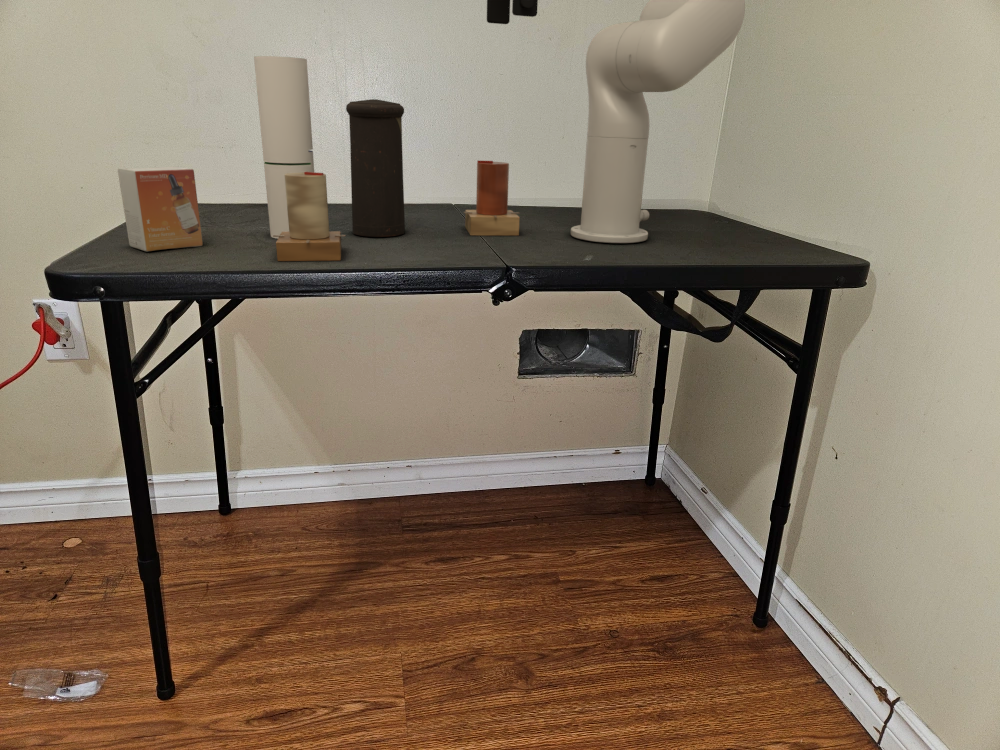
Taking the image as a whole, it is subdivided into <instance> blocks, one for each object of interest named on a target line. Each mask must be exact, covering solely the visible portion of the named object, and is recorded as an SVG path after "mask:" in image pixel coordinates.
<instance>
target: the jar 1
mask: <svg viewBox="0 0 1000 750" xmlns="http://www.w3.org/2000/svg"><path fill="white" fill-rule="evenodd" d="M285 187H286V199H287V211H288V223H289V235H290V237H291V238H295V239H322V238H327V237H329V236H330V234H329V231H330V219H329V206H328V205H329V203H328V188H327V175H326V174H325V173H324V172H315V171H314V172H304V173H287V174H285Z"/></svg>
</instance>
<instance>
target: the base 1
mask: <svg viewBox="0 0 1000 750" xmlns="http://www.w3.org/2000/svg"><path fill="white" fill-rule="evenodd" d="M329 234H330V236H329V237H327V238H322V239H295V238H291V237H290V235H289V232H281V234H280V235H273V237H279V238H278V239H277V240H276V242H275V249H276V258H277V259H276V261H277V262H322V261H323V262H326V261H327V262H329V261H331V262H332V261H333V262H335V261H336V262H337V261H341V260H342V237H346V234H342V232H341V230H339V231H338V230H336V231H334V230H332V231H330V230H329Z"/></svg>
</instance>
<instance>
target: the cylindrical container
mask: <svg viewBox="0 0 1000 750" xmlns="http://www.w3.org/2000/svg"><path fill="white" fill-rule="evenodd" d="M253 61H254V72H255V82H256V83H255V84H256V92H257V93H256V94H257V102H258V103H257V105H258V115H259V125H260V138H261V148H262V158H263V162H264V163H263V168H264V169H263V170H264V180H265V190H266V201H267V213H268V223H269V233H270V234H269V235H270V238H273V239H277V240H278V238H279V237H273V235H280V234H281V232H289V223H288V211H287V199H286V187H285V174H287V173H304V172H315V161H314V151H313V150H314V148H313V133H312V132H313V130H312V118H311V117H312V116H311V104H310V103H311V102H310V100H311V99H310V88H309V72H308V59H307V58H302V57H294V56H293V57H291V56H277V55H276V56H275V55H274V56H273V55H272V56H271V55H269V56H268V55H258V56H257V55H256V56H253Z"/></svg>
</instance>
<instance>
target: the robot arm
mask: <svg viewBox="0 0 1000 750" xmlns="http://www.w3.org/2000/svg"><path fill="white" fill-rule="evenodd" d="M538 1H539V0H512V4H511V0H486V22H487V23H488V24H495V25H496V24H498V25H508V24H509V23H510V20H511V19H510V16H511V13H512V15H513V16H515V17H516V16H517V17H518V16H519V17H531V18H534V17H536V16H537V15H538V7H539V6H538ZM511 5H512V6H511ZM511 7H512V8H511ZM745 13H746V1H745V0H648V2H646V4H645V6H644V7H643V9H642V11H641V13H640V15H639V19H638V20H632V21H624V22H618V23H614V24H610V25H608V26H606V27H604V28H602V29H601V30H600V31H598V33H596V34H595V35H594V37H592V39H591V41H590V43H589V45H588V46H587V50H586V54H585V55H586V56H585V71H586V72H585V74H586V83H587V94H588V116H587V132H586V141H585V142H586V143H585V156H584V157H585V158H584V172H583V174H584V175H583V187H582V199H581V201H582V202H581V215H580V224H578V225H574V226H572V227H571V228H570V236H571V237H573V238H575V239H578V240H582V241H588V242H595V243H604V244H634V243H635V244H636V243H642V242H645V241H647V240H648V237H649V232H648V231H647V230H645V229H643V228H640V223H642V222H646V221H648V220H649V218H650V212H649V211H648V210H647V209H642V203H643V192H644V184H645V183H644V182H645V175H646V174H645V172H646V163H647V153H648V145H649V136H650V114H649V109H648V106H647V103H646V100H645V96H644V93H665V92H666V93H667V92H672V91H676V90H678V89H680V88H682V87H683V86H685V85H687V84H688V83H690V81H692V80H693V79H694V78H695V77H697V76H698V75H699V74H700V73H701V72H702V71H704V70H705V69H706V68H707V67H708V66H709V65H710V64H711V63H712V62H714V61H715V60H716V59H717V58H718V57H720V56H721V55H722V54H723V53H724V52H725V51H726V50H727V49H728V48H729V47H730V46H732V44H733V42H735V40H736V38H737V37H738V35H739V32H740V30H741V28H742V25H743V22H744V18H745Z"/></svg>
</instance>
